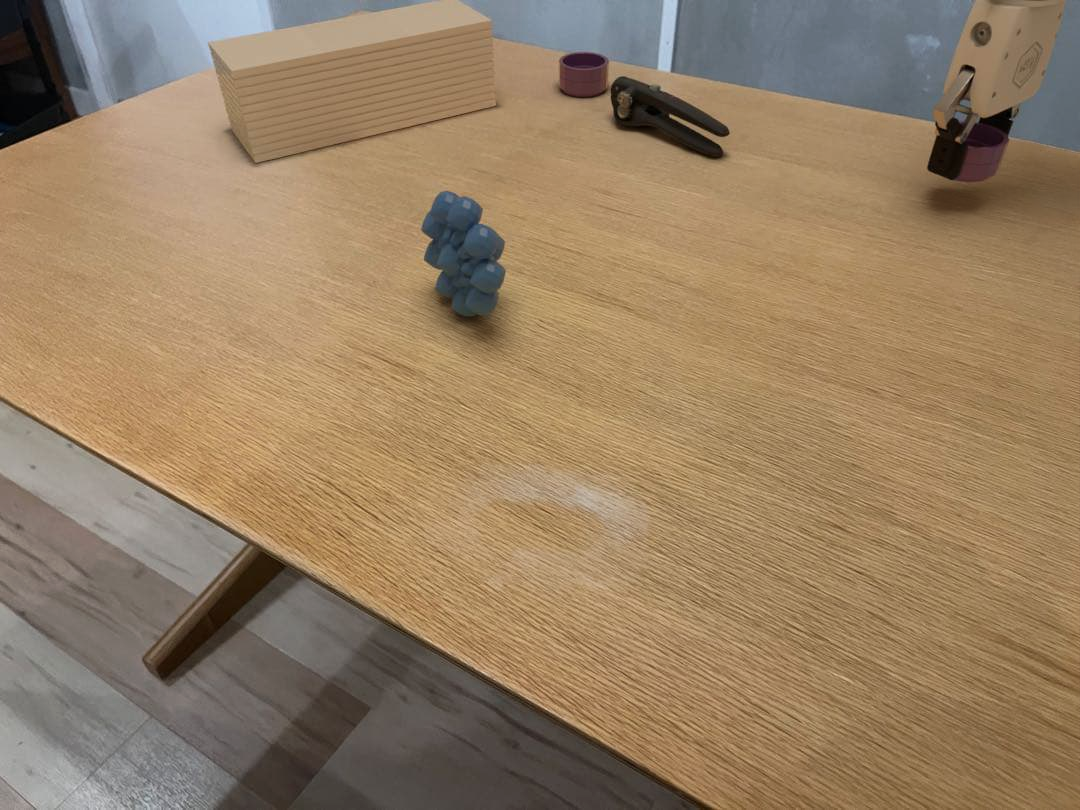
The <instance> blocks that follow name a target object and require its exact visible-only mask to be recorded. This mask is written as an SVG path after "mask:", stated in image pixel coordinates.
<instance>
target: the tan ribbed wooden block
mask: <svg viewBox="0 0 1080 810" xmlns="http://www.w3.org/2000/svg"><path fill="white" fill-rule="evenodd" d="M492 28H493V20H492V19H491V18H489V17H488V16H485V15H484V14H482V13H481V12H478V11H477V10H476V9H474V8H472V7H470V6H469V5H467V4H465V3H463V2H462V1H460V0H435V1H429V2H424V3H417V4H412V5H408V6H402V7H397V8H396V7H395V8H390V9H385V10H379V11H375V12H374V11H373V12H368V13H363V14H358V15H351V16H346V17H340V18H335V19H330V20H324V21H319V22H318V21H317V22H313V23H308V24H302V25H297V26H291V27H290V26H289V27H286V28H280V29H274V30H273V29H272V30H269V31H263V32H257V33H252V34H245V35H241V36H236V37H230V38H224V39H223V38H222V39H218V40H212V41H208V42H207V44H208V45H207V46H208V48H209V51H210V55H211V59H212V63H213V66H214V70H215V74H216V77H217V81H218V84H219V89H220V92H221V96H222V99H223V104H224V107H225V110H226V114H227V117H228V121H229V123H230V124H229V126H230V129H231V132H232V133H233V135H235V137H236V138H237V140H238V141H239V143H240V144H241V146H242V147H243V148H244V149H245V151H246V153H248V155H249V156H250V158H251V159H252V161H253V162H254V164H257V163H262V162H267V161H270V160H275V159H279V158H283V157H287V156H290V155H295V154H299V153H304V152H309V151H312V150H313V151H314V150H316V149H320V148H325V147H329V146H333V145H338V144H341V143H346V142H350V141H355V140H359V139H363V138H367V137H371V136H375V135H376V136H377V135H380V134H384V133H387V132H391V131H392V132H393V131H396V130H400V129H405V128H408V127H413V126H417V125H421V124H425V123H430V122H433V121H434V122H435V121H438V120H443V119H445V118H446V119H447V118H450V117H455V116H459V115H463V114H467V113H471V112H476V111H479V110H485V109H488V108H492V107H497V99H496V98H497V97H496V77H495V73H496V72H495V61H494V60H495V55H494V45H493V44H494V37H493V35H494V34H493V33H494V32H493V29H492Z"/></svg>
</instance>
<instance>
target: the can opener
mask: <svg viewBox="0 0 1080 810" xmlns="http://www.w3.org/2000/svg"><path fill="white" fill-rule="evenodd" d="M661 88H662V87H661V85H660V84H657V83H653V84H648V83H645V82H642V81H640V80H637V79H634V78H630V77H628V76H625V75H621V76H618V77H617V78H615V79H614V80H613V82H612V83H611V87H610V102H611V106H612V109H613V110H612V111H613V117H614V119H615V121H616V122H617V123H619V124H621V125H624V126H629V127H641V126H643V127H644V126H650V127H654V128H656V129H658V130H660V131H661V132H664V133H665V134H667V135H669V136H670V137H672V138H674V139H675V140H677V141H678V142H680V143H682V144H683V145H685V146H687V147H689V148H691V149H693V150H695V151H697V152H700V153H701V154H704V155H707V156H711V157H719V156H721V155H723V154H724V150H723V148H722V146H721V145H720V144H719V143H717V142H716V141H714V140H712V139H710V138H708V137H707V136H705V135H703V134H702V133H700V132H698V131H697V130H695V129H693V128H691V127H689V126H687V125H685V124H683V123H682V122H679V121H678V120H676V119H674V118H672V117H671V116H673V117H675V118H678V119H680V120H683V121H684V122H686V123H688V124H691V125H693V126H695V127H698V128H699V129H702V130H703V131H705V132H707V133H710V134H712V135H713V136H716V137H719V138H726V137H728V136H729V135H730V130H729V128H728V126H727V125H726V124H724V123H722V122H721V121H719V120H718V119H716V118H715V117H713V116H711V115H710V114H708V113H707V112H705V111H703V110H701V109H699V108H698V107H696V106H694V105H692V104H691V103H689V102H687V101H686V100H683V99H682V98H679V97H677V96H675V95H674V94H671V93H669V92H666V91H662V90H661ZM670 115H671V116H670Z"/></svg>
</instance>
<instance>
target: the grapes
mask: <svg viewBox="0 0 1080 810" xmlns="http://www.w3.org/2000/svg"><path fill="white" fill-rule="evenodd" d="M483 210H484V208H483V207H482V206H481V205H480V204H479V202H477V201H476V200H475V199H473V198H471V197H468V196H466V195H463V196H459V195H458V194H456V193H455V192H452V191H450V190H443V191H440V192H439V193H438V194H437V195H436V196H435V198H434V200H433V202H432V205H431V207H430V210H429V211H428V212H427V213H426V215H425V217H424V218H423V222H422V225H421V232H423V234H424V235H425V236H426V237H428V238H429V239H431V240H430V242H429V243H428V244H427V246H426V249H425V251H424V256H423V261H424V262H425V263H427V264H428V266H430V267H431V268H433V269H436V270H439V271H441V272H440V273H439V275H438V277H437V279H436V283H435V288H434V290H435V291H436V292H438V293H439V294H440V295H441V296H443V297H445V298H447V299H450V300H452V301H451V302H452V303H451V306H450V308H451V309H452V310H453V311H454V312H456V313H457V314H459V315H461V316H463V317H466V318H467V317H469V318H470V317H475V316H476V315H479V316H489V315H490V314H491V313H493V312H494V311H495V310H496V308H497V305H498V303H499V298H500V292H499V290H500V289H501V288H502V286H503V283H504V282H505V278H506V272H507V269H506V268H505V267H504V266H503V265H501V264H500V263H499V262H498V261H499V260H500V259H501V258H502V255H503V253H504V251H505V246H506V241H505V240H504V238H503V237H502V236H500V234H498V232H497V231H495V229H493V228H492V227H491V226H488V225H486V224H483V223H480V222H481V220H482V216H483Z"/></svg>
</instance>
